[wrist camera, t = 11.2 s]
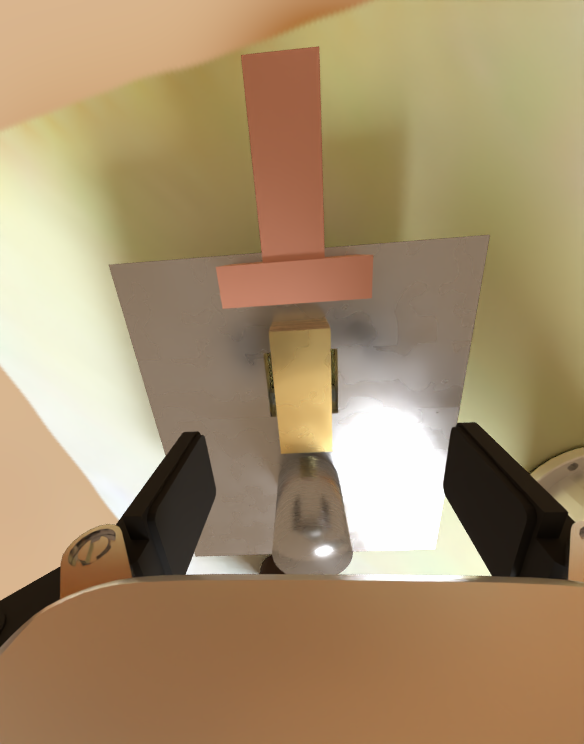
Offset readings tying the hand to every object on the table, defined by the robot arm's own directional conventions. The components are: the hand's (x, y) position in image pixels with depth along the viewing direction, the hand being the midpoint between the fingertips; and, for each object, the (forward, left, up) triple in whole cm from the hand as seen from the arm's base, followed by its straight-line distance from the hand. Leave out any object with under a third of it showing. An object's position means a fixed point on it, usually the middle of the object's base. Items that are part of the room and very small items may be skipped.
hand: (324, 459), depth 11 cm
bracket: (+1, -9, -6) cm, 11 cm away
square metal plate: (+1, +3, -13) cm, 13 cm away
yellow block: (+1, -1, -12) cm, 12 cm away
